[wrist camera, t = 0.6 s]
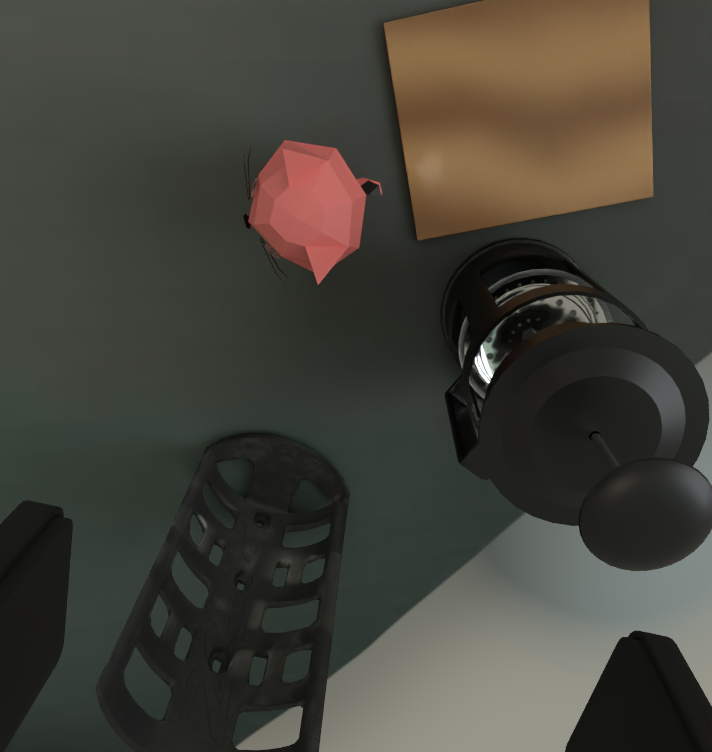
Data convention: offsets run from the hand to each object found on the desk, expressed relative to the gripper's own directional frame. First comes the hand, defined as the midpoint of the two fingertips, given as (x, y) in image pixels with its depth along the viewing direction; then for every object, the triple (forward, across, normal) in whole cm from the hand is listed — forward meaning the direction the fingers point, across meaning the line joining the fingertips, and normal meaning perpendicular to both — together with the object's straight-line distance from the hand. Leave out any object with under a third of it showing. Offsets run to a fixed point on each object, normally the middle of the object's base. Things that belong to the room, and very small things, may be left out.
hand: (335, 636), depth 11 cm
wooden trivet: (+32, -6, -10) cm, 34 cm away
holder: (+32, +3, +18) cm, 37 cm away
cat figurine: (+32, +4, -4) cm, 32 cm away
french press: (+32, -10, +2) cm, 33 cm away
